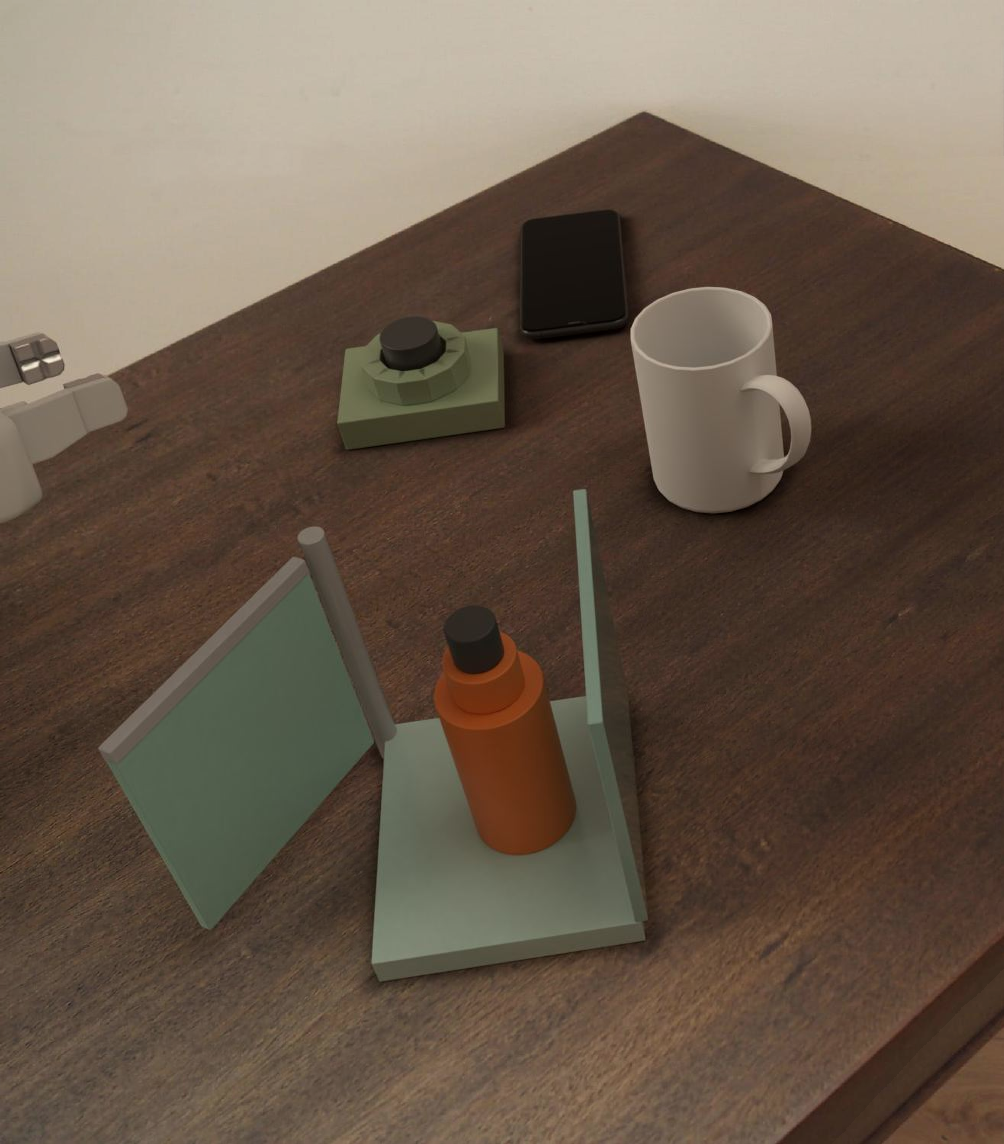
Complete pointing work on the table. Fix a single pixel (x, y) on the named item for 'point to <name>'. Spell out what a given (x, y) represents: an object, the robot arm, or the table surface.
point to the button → (411, 343)
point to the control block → (423, 391)
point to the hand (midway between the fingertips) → (86, 371)
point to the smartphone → (572, 275)
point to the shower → (447, 830)
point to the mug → (714, 399)
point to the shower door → (242, 743)
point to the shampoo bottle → (502, 736)
